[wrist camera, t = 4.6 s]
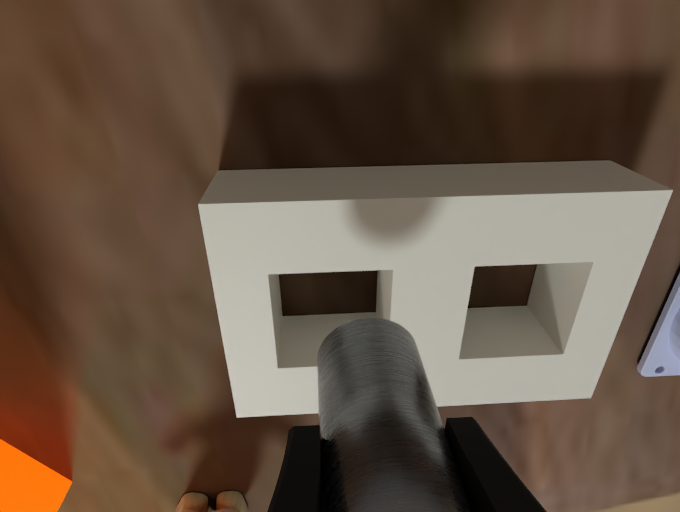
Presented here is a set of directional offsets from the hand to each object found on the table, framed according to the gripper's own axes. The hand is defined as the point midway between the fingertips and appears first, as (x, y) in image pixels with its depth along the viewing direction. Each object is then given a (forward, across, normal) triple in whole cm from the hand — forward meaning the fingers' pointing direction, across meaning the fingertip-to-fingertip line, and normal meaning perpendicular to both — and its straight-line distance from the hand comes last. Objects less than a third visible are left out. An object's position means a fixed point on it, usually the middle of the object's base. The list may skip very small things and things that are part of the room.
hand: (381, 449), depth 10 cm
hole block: (+10, -3, +1) cm, 10 cm away
